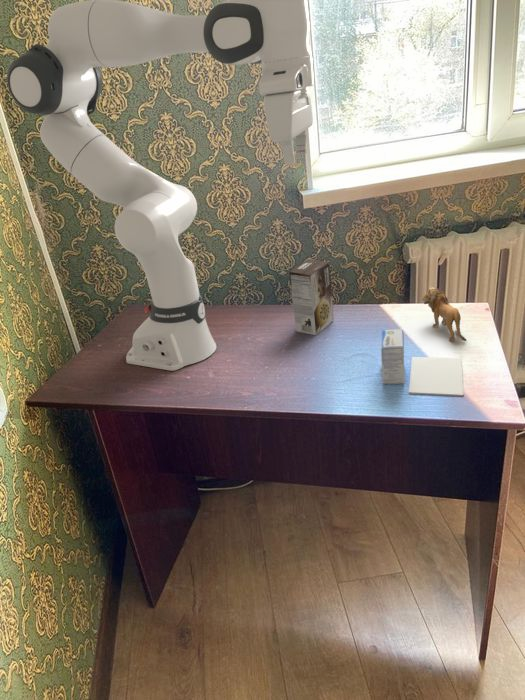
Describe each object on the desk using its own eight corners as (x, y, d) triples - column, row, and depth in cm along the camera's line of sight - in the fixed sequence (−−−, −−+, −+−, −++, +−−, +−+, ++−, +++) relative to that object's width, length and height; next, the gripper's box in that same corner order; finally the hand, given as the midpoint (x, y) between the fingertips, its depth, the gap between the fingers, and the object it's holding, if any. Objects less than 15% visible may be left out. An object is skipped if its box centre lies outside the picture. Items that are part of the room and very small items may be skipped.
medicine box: (404, 384, 108) (404, 346, 104) (382, 384, 109) (381, 347, 105) (403, 364, 115) (403, 328, 111) (382, 364, 116) (381, 329, 112)
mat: (408, 393, 105) (408, 392, 105) (412, 358, 117) (412, 356, 116) (463, 396, 102) (463, 394, 102) (460, 359, 114) (461, 358, 113)
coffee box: (313, 317, 141) (308, 258, 134) (334, 320, 138) (330, 261, 130) (294, 331, 135) (287, 271, 128) (316, 336, 132) (311, 274, 124)
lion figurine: (418, 321, 131) (418, 287, 127) (436, 316, 133) (437, 282, 128) (456, 346, 119) (458, 309, 115) (476, 339, 120) (478, 303, 116)
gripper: (285, 77, 105) (292, 151, 111) (255, 84, 88) (266, 172, 94) (316, 72, 103) (322, 148, 109) (292, 79, 86) (301, 168, 92)
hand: (296, 159), depth 101 cm, fingers open, 8 cm apart
